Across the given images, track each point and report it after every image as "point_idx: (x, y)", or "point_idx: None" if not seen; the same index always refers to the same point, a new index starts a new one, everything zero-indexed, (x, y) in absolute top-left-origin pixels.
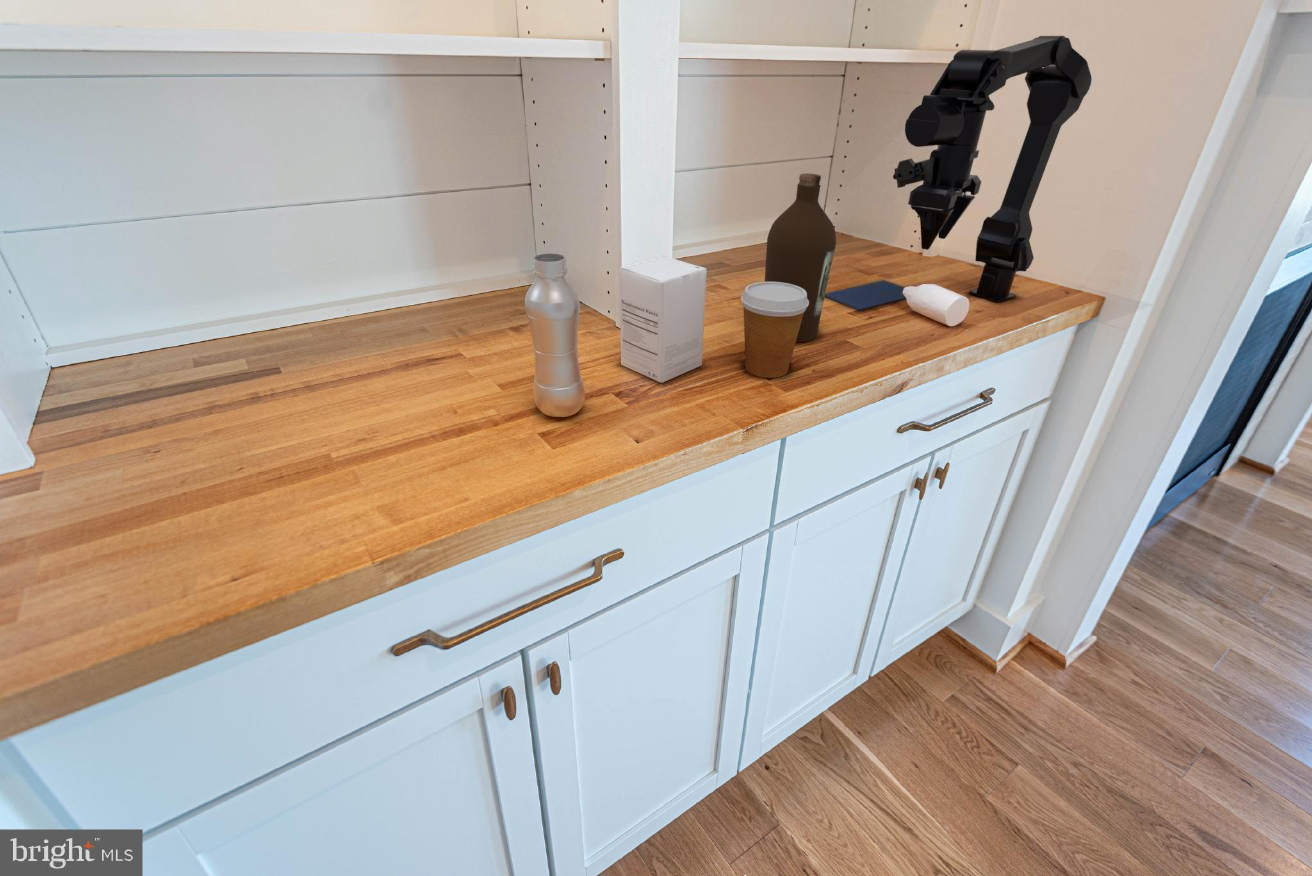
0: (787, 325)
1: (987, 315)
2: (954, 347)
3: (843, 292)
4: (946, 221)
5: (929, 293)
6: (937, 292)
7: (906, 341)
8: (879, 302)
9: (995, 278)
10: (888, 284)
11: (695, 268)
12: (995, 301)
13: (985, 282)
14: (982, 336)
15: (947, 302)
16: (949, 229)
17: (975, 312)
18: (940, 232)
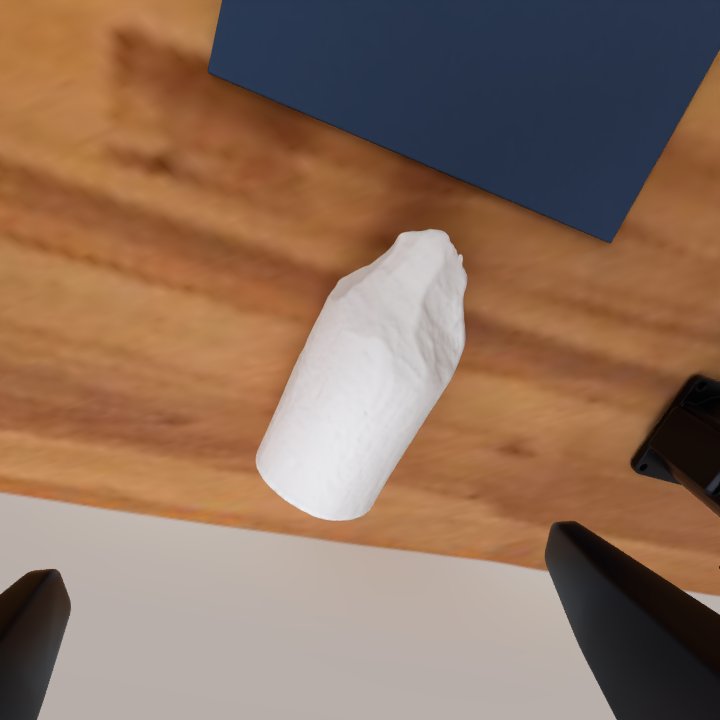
0: None
1: (491, 477)
2: (128, 500)
3: None
4: (662, 700)
5: (322, 393)
6: (326, 428)
7: (32, 381)
8: (374, 124)
9: (705, 492)
10: (682, 54)
11: None
12: (633, 461)
13: (697, 453)
14: (290, 521)
15: (277, 472)
16: (589, 654)
17: (500, 446)
18: (578, 565)
